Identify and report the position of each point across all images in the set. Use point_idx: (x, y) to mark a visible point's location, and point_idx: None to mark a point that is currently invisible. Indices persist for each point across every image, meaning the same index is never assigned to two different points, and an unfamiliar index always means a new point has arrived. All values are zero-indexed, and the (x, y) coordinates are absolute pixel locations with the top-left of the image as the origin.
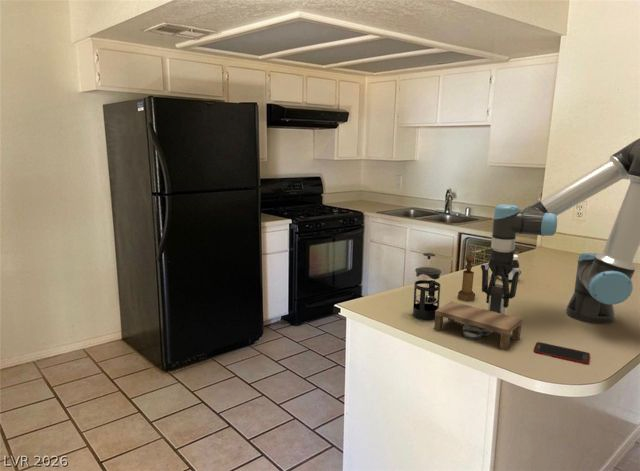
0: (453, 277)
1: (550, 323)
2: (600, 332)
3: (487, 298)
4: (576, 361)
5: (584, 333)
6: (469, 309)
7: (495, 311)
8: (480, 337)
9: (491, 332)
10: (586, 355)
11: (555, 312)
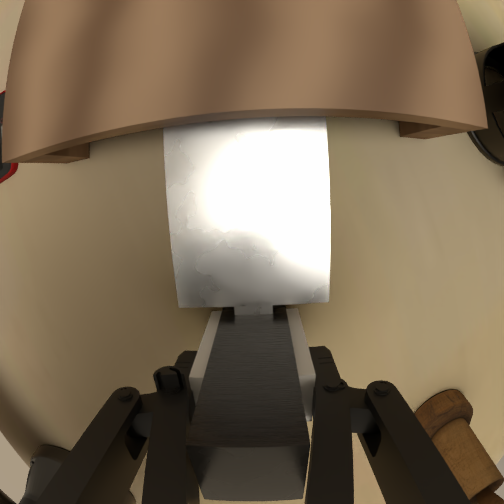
0: None
1: (86, 399)
2: (4, 396)
3: (328, 365)
4: None
5: (7, 369)
6: (325, 33)
7: (248, 315)
8: None
9: None
10: None
11: (140, 478)
